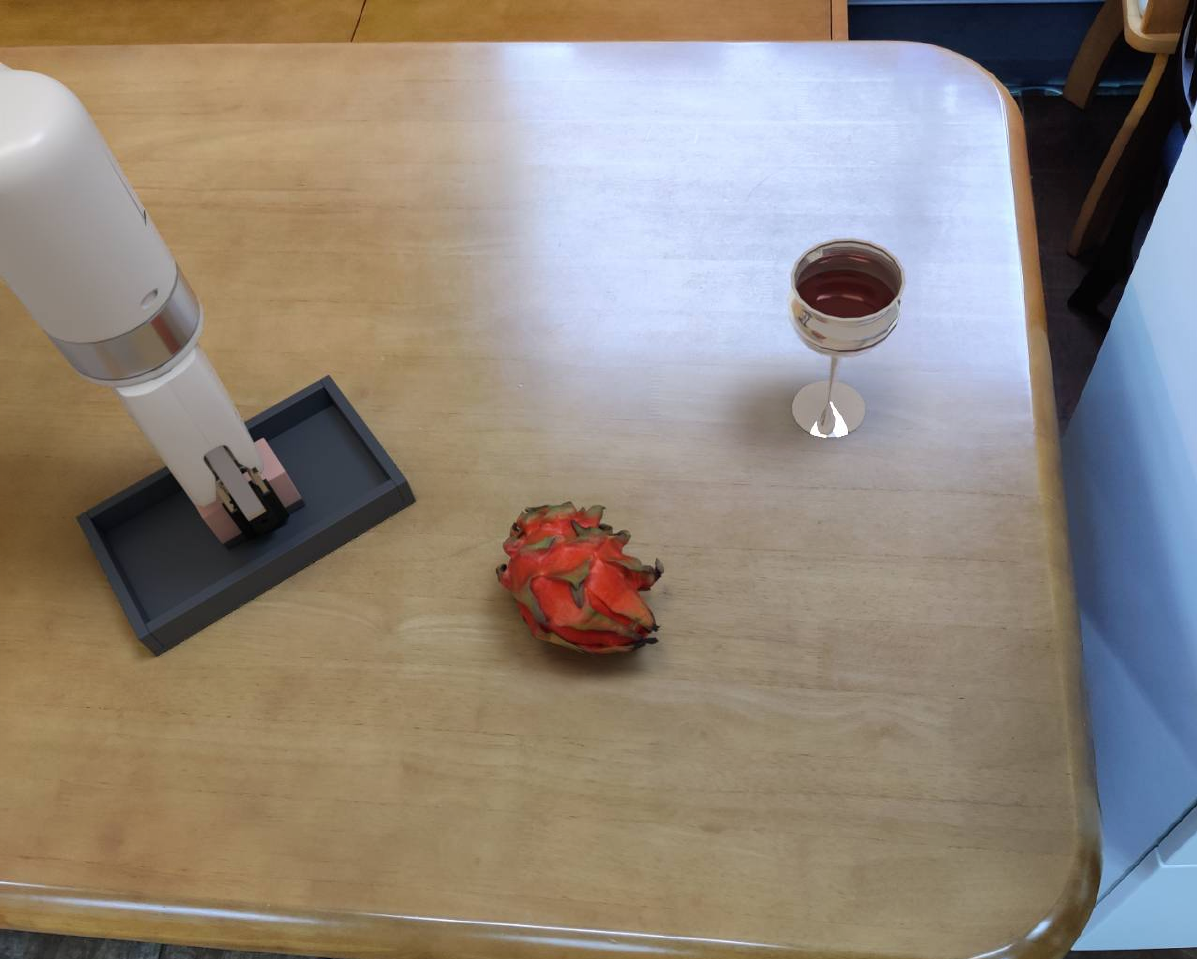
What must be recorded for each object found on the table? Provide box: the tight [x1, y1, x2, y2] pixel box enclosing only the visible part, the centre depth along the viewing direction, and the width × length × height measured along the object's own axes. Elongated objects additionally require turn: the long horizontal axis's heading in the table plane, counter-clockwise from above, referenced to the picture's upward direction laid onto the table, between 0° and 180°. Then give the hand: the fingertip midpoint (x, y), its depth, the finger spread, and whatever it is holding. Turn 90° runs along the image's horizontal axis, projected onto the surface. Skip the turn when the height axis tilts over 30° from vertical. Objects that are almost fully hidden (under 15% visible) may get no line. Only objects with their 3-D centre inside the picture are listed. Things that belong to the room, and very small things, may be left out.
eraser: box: [195, 438, 305, 550], centre depth 70 cm, size 6×4×4 cm, turn 124°
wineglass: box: [787, 237, 907, 438], centre depth 67 cm, size 7×7×12 cm
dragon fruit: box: [495, 500, 665, 658], centre depth 64 cm, size 8×8×12 cm
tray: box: [75, 374, 417, 657], centre depth 71 cm, size 20×12×2 cm, turn 124°
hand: (254, 504), depth 72 cm, fingers closed on eraser, 3 cm apart
